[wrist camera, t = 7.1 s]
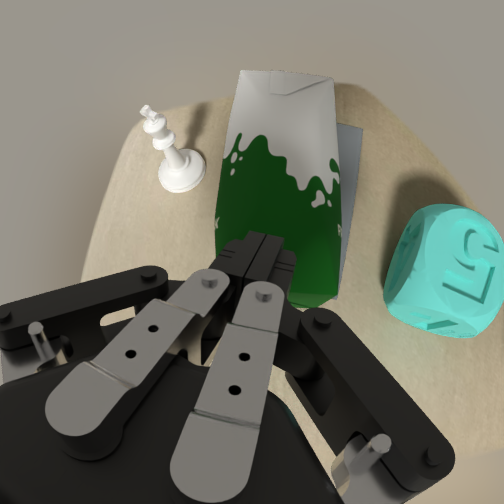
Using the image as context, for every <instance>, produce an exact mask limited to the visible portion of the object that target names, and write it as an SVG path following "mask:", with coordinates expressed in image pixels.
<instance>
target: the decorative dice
mask: <svg viewBox="0 0 504 504" xmlns="http://www.w3.org/2000/svg"><path fill="white" fill-rule="evenodd" d="M383 298H384V301H385V304H386V306H387V308H388V311H389V312H390V313H391V314H392V315H393V316H394V317H396V318H397V319H399V320H401V321H402V322H404V323H407V324H409V325H411V326H413V327H416V328H419V329H422V330H424V331H428V332H431V333H435V334H439V335H443V336H448V337H455V338H471V337H475V336H476V335H478V334H479V333H480V332H482V331H483V330H484V329H485V328H487V327H488V325H489V324H490V323H491V322H492V321H493V319H494V318H495V316H496V315H497V313H498V311H499V309H500V307H501V305H502V303H503V301H504V243H503V241H502V239H501V237H500V235H499V233H498V232H497V230H496V229H495V228H494V226H493V225H492V224H491V223H490V222H489V221H488V220H487V219H486V218H485V217H484V216H482V215H481V214H479V213H478V212H476V211H474V210H471V209H469V208H466V207H463V206H459V205H454V204H433V205H429V206H426V207H424V208H421V209H419V210H417V211H416V212H415V213H414V214H413V216H412V217H411V218H410V220H409V222H408V223H407V225H406V227H405V229H404V231H403V233H402V235H401V237H400V240H399V242H398V244H397V247H396V249H395V252H394V254H393V257H392V260H391V263H390V266H389V269H388V273H387V276H386V281H385V285H384V293H383Z"/></svg>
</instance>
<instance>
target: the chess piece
mask: <svg viewBox="0 0 504 504" xmlns="http://www.w3.org/2000/svg"><path fill="white" fill-rule="evenodd" d="M140 113H141V114H142V115H143V116H146V117H147V119H146V121H145V122H144V125H143V129H144V131H145V132H146V133H148V134H149V135H151V136H153V137H154V138H153V146H154V148H156V149H158V150H163V151H164V154H165V156H166V158H165V159H164V160H163V161H162V163H161V165H160V167H159V171H158V176H159V180H160V182H161V184H162V186H163V187H164V188H165V189H166V190H168V191H170V192H174V193H181V192H186V191H189V190H191V189H192V188H194V187H195V186H197V185H198V184H199V183H200V181H201V180H202V179H203V177H204V175H205V171H206V164H205V161H204V159H203V158H202V157H201V155H200V154H199V153H198V152H196V151H194V150H191V149H180V150H178V149H177V148H176V147H175V146H174V144H173V143H174V141H175V138H176V136H175V133H174V132H172V131H171V130H168V129H167V127H166V125H167V121H166V117H165V116H164V115H162V114H158V113H156V112H153V111H152V110H151V108H150V107H149V106H148V105H145V106H144V107H143V108H142V110H141V111H140Z"/></svg>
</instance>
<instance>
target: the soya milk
mask: <svg viewBox="0 0 504 504" xmlns="http://www.w3.org/2000/svg"><path fill="white" fill-rule="evenodd" d="M249 231H254V232H259V233H264V234H269V235H273V236H278V237H283V238H284V245H283V249H284V250H289V251H293V252H294V253H295V256H296V258H297V260H296V265H295V270H294V275H293V280H292V284H291V289H290V292H289V295H288V301H289V303H290V304H291V305H292V306H293V307H296V308H316V307H318V306H320V305H322V304H323V303H325V302H327V301H328V300H330V299H332V298H333V297H335V296H336V295H338V286H339V273H340V259H341V242H342V211H341V186H340V168H339V153H338V140H337V127H336V110H335V94H334V80H333V79H332V78H330V77H323V76H317V75H309V74H301V73H292V72H285V71H279V70H272V71H271V72H269V71H253V70H241V72H240V76H239V81H238V85H237V89H236V93H235V97H234V102H233V106H232V110H231V114H230V119H229V124H228V130H227V136H226V142H225V149H224V155H223V162H222V169H221V176H220V183H219V190H218V197H217V205H216V213H215V248H216V257H217V256H218V255H219V253H220V252H221V251H222V250H223V248H224V247H225V245H226V244H227V243H228V242H230V241H232V240H234V239H239V240H244V238H245V237H246V235H247V234H248V232H249Z"/></svg>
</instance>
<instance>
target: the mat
mask: <svg viewBox="0 0 504 504" xmlns="http://www.w3.org/2000/svg"><path fill="white" fill-rule="evenodd" d="M336 127H337V140H338V153H339V168H340V186H341V211H342V242H341V259H340V273H339V286H338V292H339V287H340V282H341V277H342V272H343V267H344V262H345V256H346V251H347V245H348V239H349V233H350V227H351V221H352V214H353V207H354V201H355V193H356V186H357V178H358V170H359V161H360V152H361V143H362V132H363V129H361V128H357V127H353V126H348V125H343V124H339V123H336ZM337 297H338V295H336V296H335V297H333V298H332V299H335V300H337Z"/></svg>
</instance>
